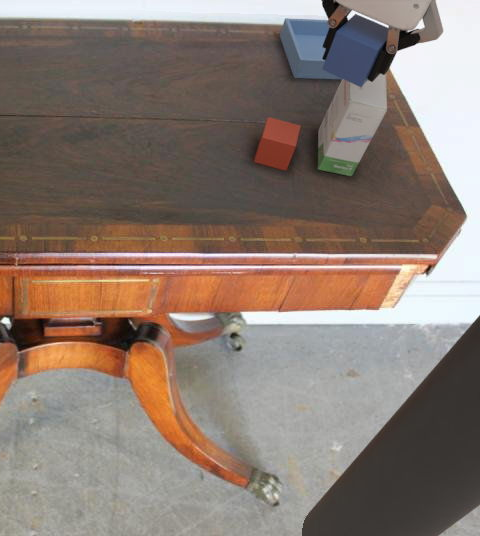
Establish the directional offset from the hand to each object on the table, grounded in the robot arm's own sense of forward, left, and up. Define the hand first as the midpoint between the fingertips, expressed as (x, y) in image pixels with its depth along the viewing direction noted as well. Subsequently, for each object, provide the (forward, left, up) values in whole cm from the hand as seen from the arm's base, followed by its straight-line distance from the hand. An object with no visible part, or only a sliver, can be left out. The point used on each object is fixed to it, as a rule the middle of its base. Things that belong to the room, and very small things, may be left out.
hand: (352, 64), depth 83 cm
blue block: (0, 0, -1) cm, 1 cm away
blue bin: (+11, -26, -17) cm, 33 cm away
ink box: (-1, -6, -18) cm, 19 cm away
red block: (+5, 0, -17) cm, 18 cm away
